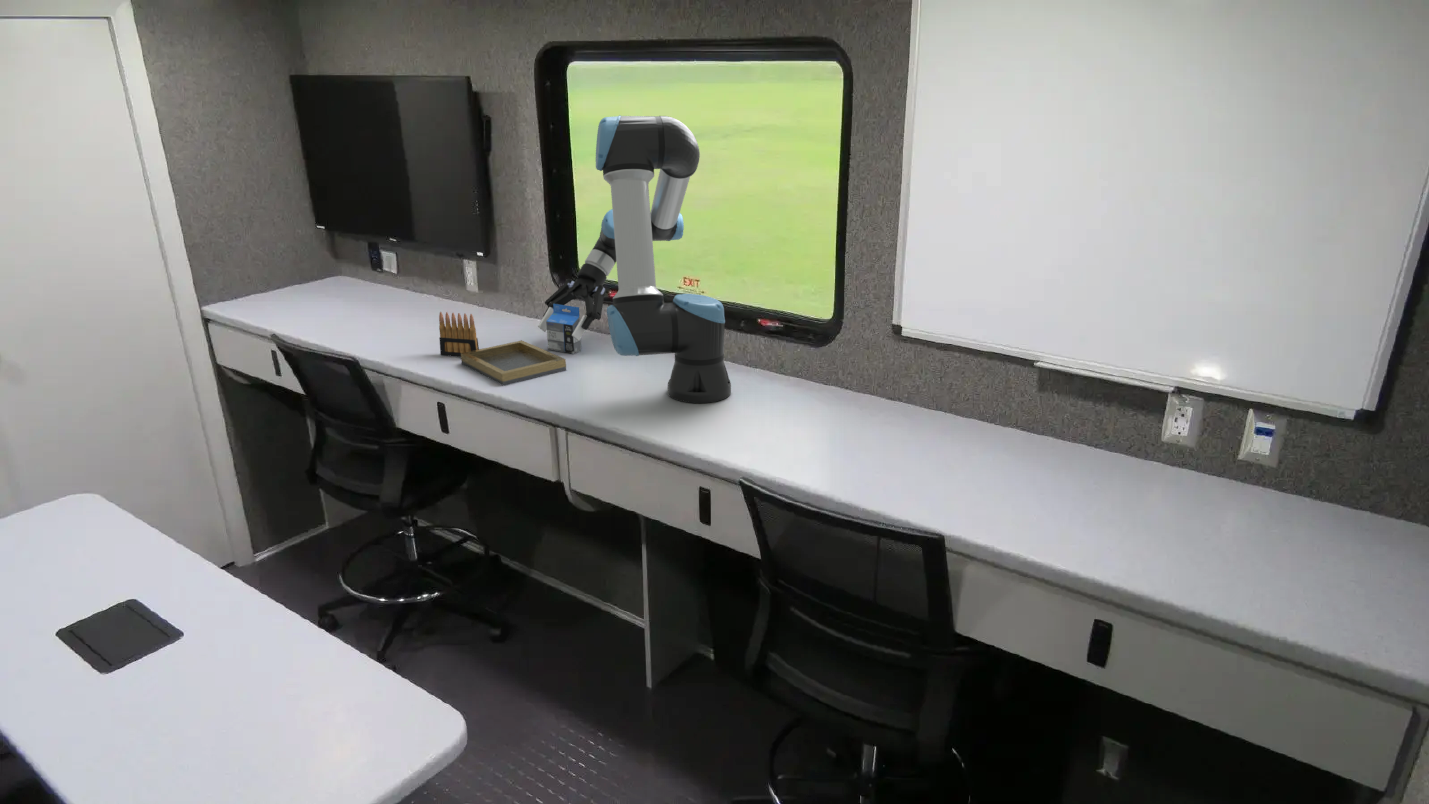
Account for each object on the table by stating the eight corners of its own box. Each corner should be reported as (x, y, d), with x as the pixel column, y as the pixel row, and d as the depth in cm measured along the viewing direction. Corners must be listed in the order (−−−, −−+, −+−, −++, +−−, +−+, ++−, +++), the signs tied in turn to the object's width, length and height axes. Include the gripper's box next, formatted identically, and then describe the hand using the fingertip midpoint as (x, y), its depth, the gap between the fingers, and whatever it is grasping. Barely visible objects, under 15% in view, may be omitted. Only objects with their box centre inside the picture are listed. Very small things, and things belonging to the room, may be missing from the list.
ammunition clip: (480, 356, 229) (476, 313, 225) (476, 358, 228) (472, 314, 223) (443, 353, 232) (439, 310, 227) (440, 355, 230) (435, 312, 226)
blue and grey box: (547, 350, 235) (544, 306, 231) (555, 346, 238) (552, 303, 234) (573, 354, 231) (571, 310, 227) (582, 350, 235) (579, 307, 230)
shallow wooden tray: (566, 370, 219) (565, 359, 218) (503, 385, 208) (502, 374, 206) (522, 350, 234) (521, 340, 233) (461, 364, 223) (460, 353, 222)
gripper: (635, 284, 233) (597, 349, 227) (572, 271, 247) (536, 332, 242) (620, 268, 227) (582, 334, 222) (557, 256, 242) (519, 318, 236)
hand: (558, 333), depth 232 cm, fingers open, 13 cm apart
